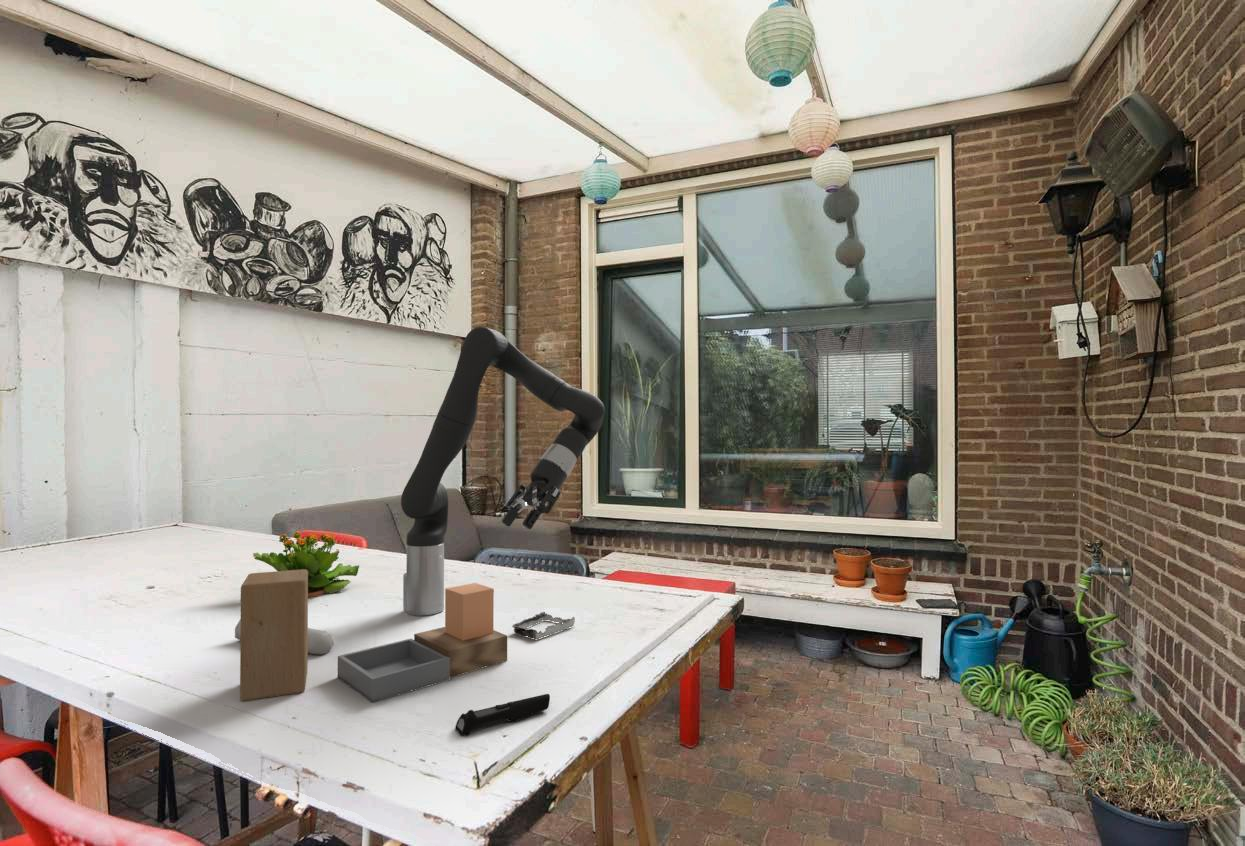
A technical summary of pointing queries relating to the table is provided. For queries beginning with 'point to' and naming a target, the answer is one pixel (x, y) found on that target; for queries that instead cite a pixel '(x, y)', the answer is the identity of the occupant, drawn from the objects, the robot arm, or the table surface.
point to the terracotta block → (469, 611)
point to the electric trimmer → (501, 714)
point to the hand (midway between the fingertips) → (515, 525)
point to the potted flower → (311, 562)
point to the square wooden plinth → (466, 649)
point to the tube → (317, 640)
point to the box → (393, 669)
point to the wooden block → (274, 634)
